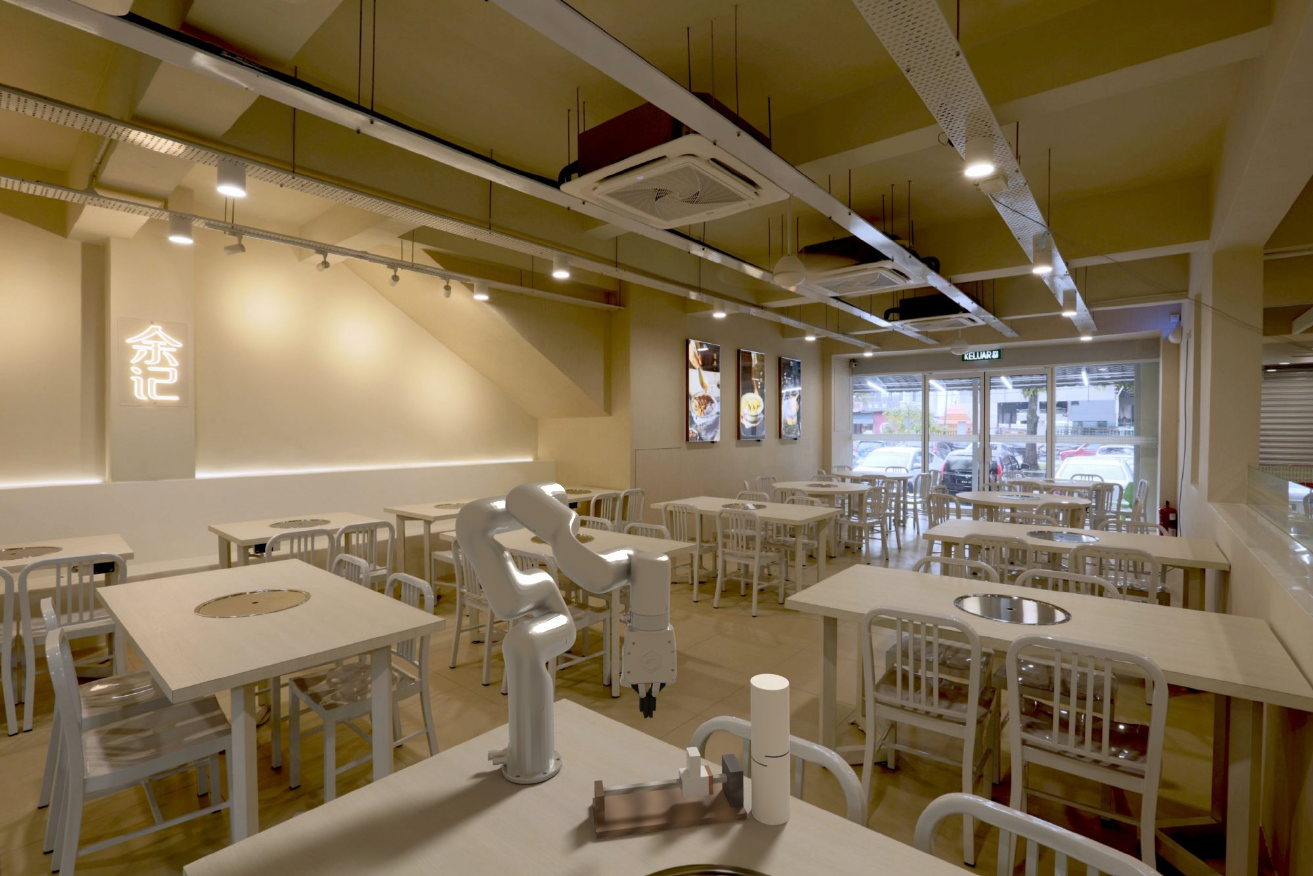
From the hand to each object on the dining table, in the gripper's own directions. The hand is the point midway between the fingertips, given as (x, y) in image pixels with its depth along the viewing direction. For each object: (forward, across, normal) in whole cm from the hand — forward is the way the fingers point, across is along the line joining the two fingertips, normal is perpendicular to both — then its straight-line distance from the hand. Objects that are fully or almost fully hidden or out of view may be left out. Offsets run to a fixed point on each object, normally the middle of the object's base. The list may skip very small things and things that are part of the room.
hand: (647, 714), depth 114 cm
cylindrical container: (+18, +23, -5) cm, 30 cm away
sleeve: (+15, +9, -1) cm, 18 cm away
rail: (+19, +4, -1) cm, 19 cm away
